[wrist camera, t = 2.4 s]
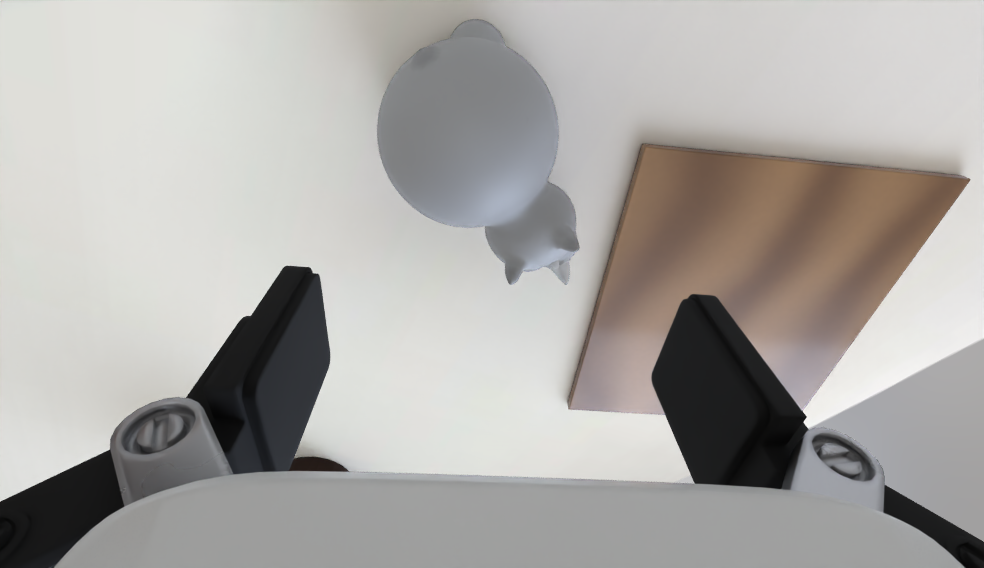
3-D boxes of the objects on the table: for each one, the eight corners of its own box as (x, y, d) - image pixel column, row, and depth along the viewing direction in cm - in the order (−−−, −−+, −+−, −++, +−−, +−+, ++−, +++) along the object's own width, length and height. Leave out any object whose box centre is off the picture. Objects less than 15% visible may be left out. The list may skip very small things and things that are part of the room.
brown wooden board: (962, 175, 25) (971, 179, 24) (790, 416, 36) (794, 422, 35) (641, 143, 23) (645, 146, 23) (567, 403, 35) (568, 409, 34)
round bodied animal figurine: (497, 262, 27) (502, 361, 20) (366, 82, 22) (309, 134, 15) (606, 204, 25) (654, 291, 18) (494, -13, 20) (499, -7, 13)
